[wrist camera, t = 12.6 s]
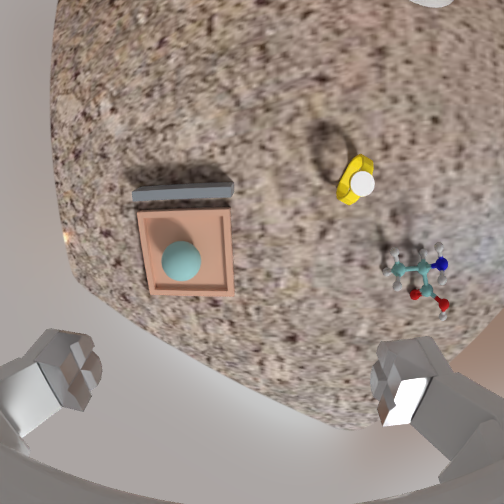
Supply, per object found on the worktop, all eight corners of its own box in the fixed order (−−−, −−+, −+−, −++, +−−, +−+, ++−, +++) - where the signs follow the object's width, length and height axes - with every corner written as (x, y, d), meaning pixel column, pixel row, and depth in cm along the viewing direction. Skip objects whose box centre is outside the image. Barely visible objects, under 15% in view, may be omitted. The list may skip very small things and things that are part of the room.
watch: (348, 149, 35) (365, 151, 29) (367, 161, 35) (386, 164, 30) (327, 192, 37) (339, 201, 31) (346, 202, 37) (361, 213, 32)
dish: (140, 210, 39) (136, 212, 38) (230, 206, 38) (229, 209, 37) (152, 290, 44) (150, 294, 42) (234, 292, 43) (234, 296, 42)
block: (141, 186, 38) (131, 191, 35) (233, 182, 37) (230, 186, 34) (142, 195, 38) (133, 201, 35) (233, 191, 38) (231, 197, 35)
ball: (167, 235, 40) (152, 249, 35) (203, 235, 39) (192, 250, 35) (172, 269, 42) (158, 287, 37) (207, 271, 41) (196, 289, 37)
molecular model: (363, 308, 39) (421, 317, 30) (374, 238, 40) (432, 233, 31) (413, 316, 43) (465, 323, 34) (421, 256, 44) (473, 255, 35)
